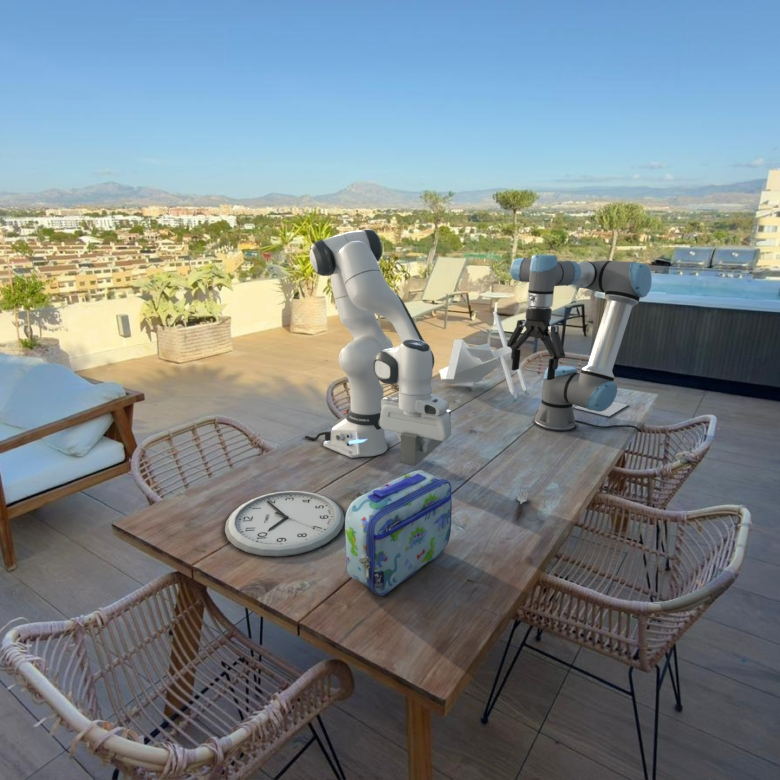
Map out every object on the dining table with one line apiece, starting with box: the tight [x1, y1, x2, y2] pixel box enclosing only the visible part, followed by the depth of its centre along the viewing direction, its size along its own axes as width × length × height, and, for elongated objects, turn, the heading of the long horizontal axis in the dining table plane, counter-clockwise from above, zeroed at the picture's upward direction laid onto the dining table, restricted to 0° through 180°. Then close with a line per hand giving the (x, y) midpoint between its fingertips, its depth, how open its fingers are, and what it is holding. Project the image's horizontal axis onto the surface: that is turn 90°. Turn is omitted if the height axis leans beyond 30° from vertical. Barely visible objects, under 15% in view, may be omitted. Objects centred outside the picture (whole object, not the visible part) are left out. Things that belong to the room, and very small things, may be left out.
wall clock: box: [224, 490, 345, 557], centre depth 134 cm, size 30×2×30 cm
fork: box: [516, 487, 529, 521], centre depth 143 cm, size 3×16×2 cm, turn 160°
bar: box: [400, 409, 452, 467], centre depth 150 cm, size 24×4×8 cm, turn 151°
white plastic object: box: [438, 310, 531, 400], centre depth 245 cm, size 37×45×31 cm
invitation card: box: [573, 400, 629, 418], centre depth 226 cm, size 21×1×15 cm
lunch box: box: [344, 469, 453, 596], centre depth 114 cm, size 26×11×21 cm, turn 135°
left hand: (414, 449), depth 144 cm, fingers closed on bar, 4 cm apart
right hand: (532, 374), depth 165 cm, fingers open, 13 cm apart
